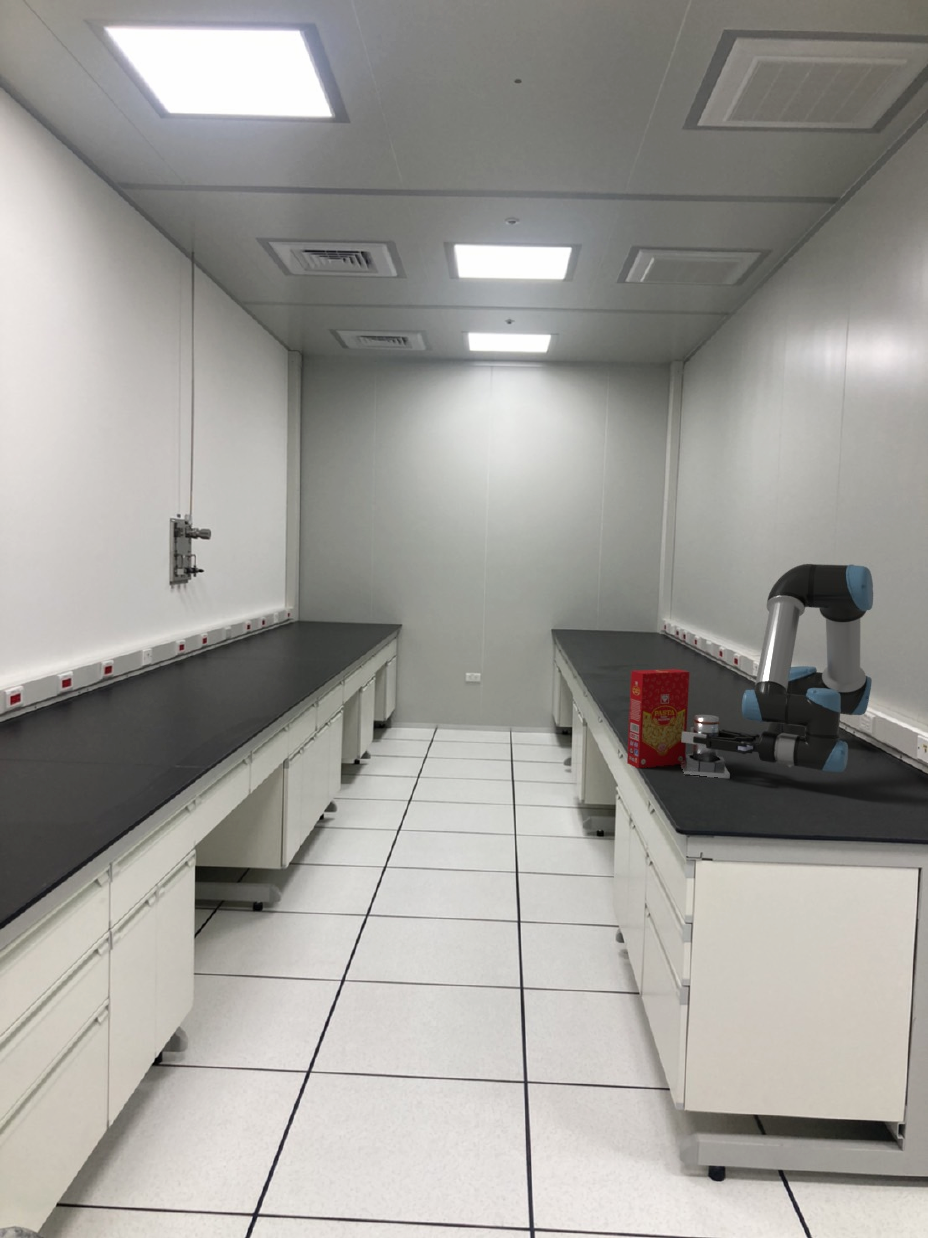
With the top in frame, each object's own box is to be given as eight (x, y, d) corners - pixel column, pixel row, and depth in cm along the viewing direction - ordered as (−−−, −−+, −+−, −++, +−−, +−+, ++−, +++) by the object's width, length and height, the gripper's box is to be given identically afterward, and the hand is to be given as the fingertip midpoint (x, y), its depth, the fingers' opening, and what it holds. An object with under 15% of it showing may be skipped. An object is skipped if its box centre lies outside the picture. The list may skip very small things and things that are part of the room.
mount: (722, 767, 216) (723, 754, 216) (729, 778, 205) (730, 764, 205) (680, 764, 218) (680, 751, 217) (684, 775, 207) (685, 761, 206)
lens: (715, 760, 214) (717, 715, 213) (718, 766, 208) (721, 719, 207) (690, 758, 215) (692, 713, 214) (693, 764, 209) (695, 718, 208)
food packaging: (638, 768, 213) (642, 673, 211) (627, 763, 218) (631, 670, 216) (684, 764, 218) (689, 672, 216) (672, 759, 223) (677, 669, 221)
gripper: (767, 770, 193) (673, 755, 206) (786, 755, 209) (697, 742, 222) (769, 739, 192) (674, 726, 205) (788, 726, 208) (698, 715, 221)
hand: (686, 734), depth 213 cm, fingers closed on lens, 6 cm apart
